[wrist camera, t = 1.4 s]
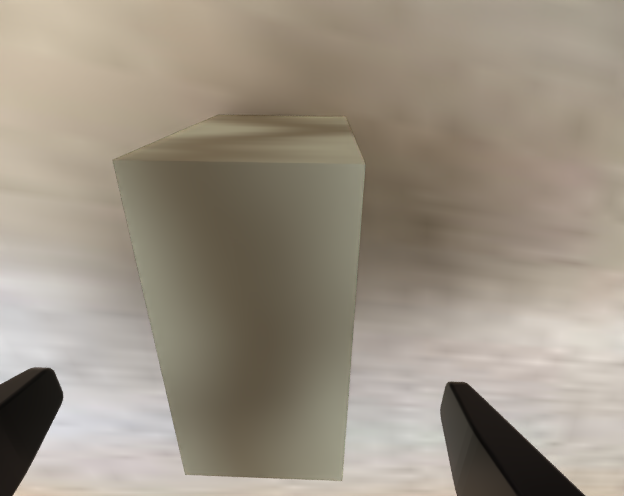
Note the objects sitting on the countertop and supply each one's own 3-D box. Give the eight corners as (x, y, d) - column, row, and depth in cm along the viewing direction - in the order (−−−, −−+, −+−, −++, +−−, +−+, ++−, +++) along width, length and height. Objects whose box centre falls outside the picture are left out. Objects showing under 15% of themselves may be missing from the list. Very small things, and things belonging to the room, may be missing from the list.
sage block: (345, 116, 14) (365, 164, 7) (335, 322, 19) (342, 481, 12) (218, 114, 14) (112, 159, 7) (238, 319, 19) (185, 474, 12)
